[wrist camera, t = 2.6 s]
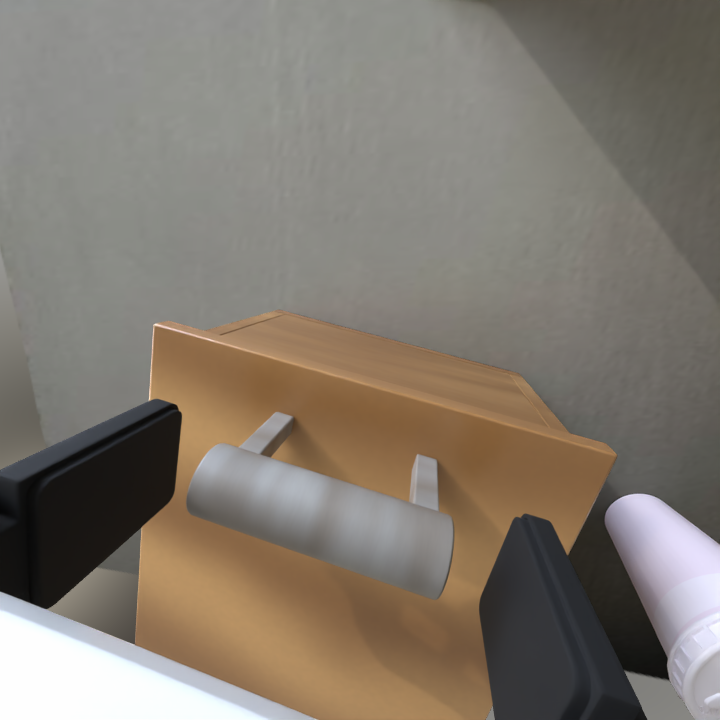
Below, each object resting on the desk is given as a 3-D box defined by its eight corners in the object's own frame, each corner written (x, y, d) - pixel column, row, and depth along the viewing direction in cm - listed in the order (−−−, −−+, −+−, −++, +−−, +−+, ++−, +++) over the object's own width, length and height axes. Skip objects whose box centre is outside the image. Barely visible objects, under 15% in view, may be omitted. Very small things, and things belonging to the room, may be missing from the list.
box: (278, 309, 23) (167, 340, 13) (519, 373, 21) (596, 463, 12) (246, 509, 28) (146, 641, 18) (442, 576, 26) (450, 764, 16)
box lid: (168, 319, 13) (1, 353, 8) (607, 442, 11) (754, 588, 6) (145, 642, 18) (32, 792, 13) (450, 765, 16) (460, 997, 11)
